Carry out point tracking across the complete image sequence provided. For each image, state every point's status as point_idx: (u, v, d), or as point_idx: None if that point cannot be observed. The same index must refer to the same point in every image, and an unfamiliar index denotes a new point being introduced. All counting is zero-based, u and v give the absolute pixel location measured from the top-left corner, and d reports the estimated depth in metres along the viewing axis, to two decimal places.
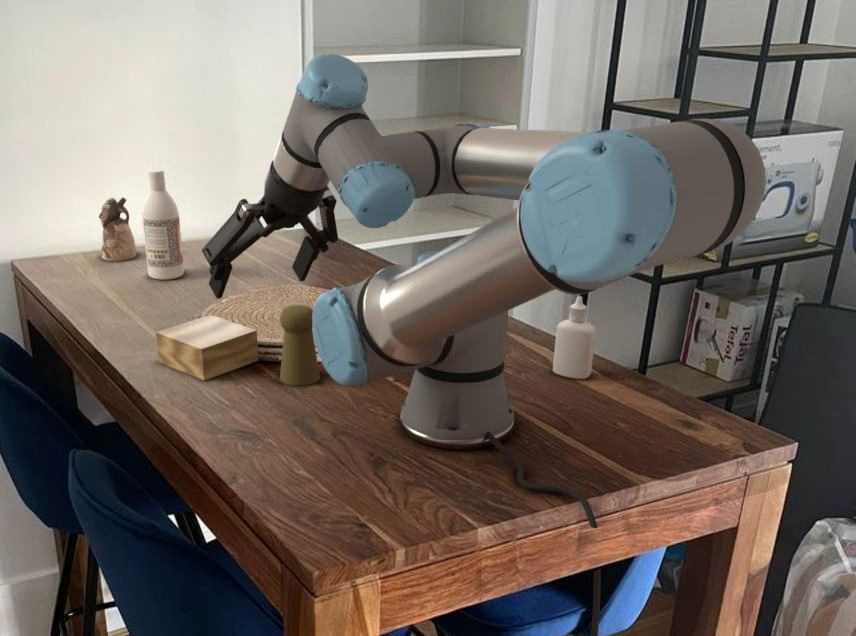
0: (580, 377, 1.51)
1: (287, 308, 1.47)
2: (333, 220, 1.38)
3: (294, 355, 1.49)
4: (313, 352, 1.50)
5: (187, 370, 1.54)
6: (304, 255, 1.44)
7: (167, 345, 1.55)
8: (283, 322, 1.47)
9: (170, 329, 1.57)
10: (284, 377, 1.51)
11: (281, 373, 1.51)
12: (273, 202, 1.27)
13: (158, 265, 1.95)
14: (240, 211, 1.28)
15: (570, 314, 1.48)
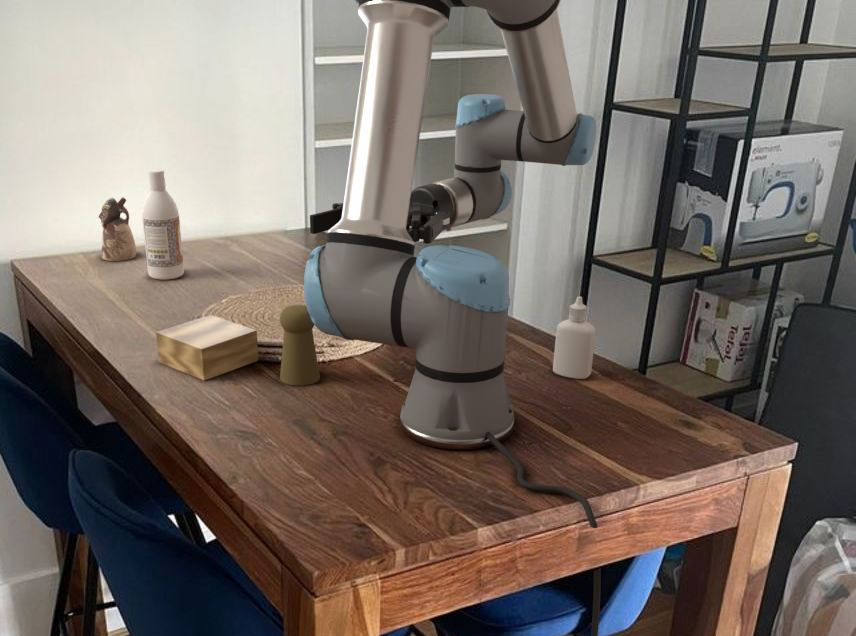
0: (580, 377, 1.51)
1: (287, 308, 1.47)
2: (437, 218, 1.51)
3: (294, 355, 1.49)
4: (313, 352, 1.50)
5: (187, 370, 1.54)
6: None
7: (167, 345, 1.55)
8: (283, 322, 1.47)
9: (170, 329, 1.57)
10: (284, 377, 1.51)
11: (281, 373, 1.51)
12: None
13: (158, 265, 1.95)
14: None
15: (570, 314, 1.48)
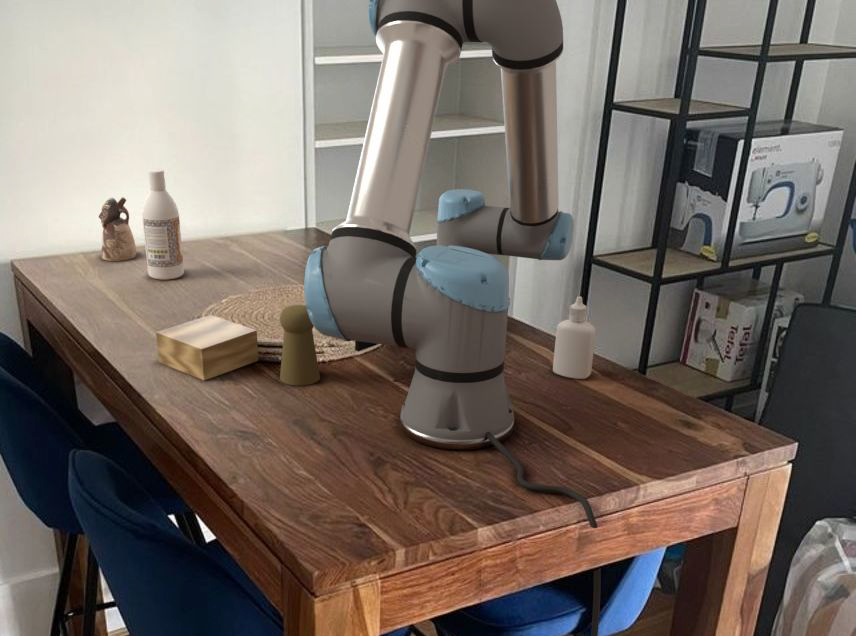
0: (580, 377, 1.51)
1: (287, 308, 1.47)
2: None
3: (294, 355, 1.49)
4: (313, 352, 1.50)
5: (187, 370, 1.54)
6: None
7: (167, 345, 1.55)
8: (283, 322, 1.47)
9: (170, 329, 1.57)
10: (284, 377, 1.51)
11: (281, 373, 1.51)
12: None
13: (158, 265, 1.95)
14: None
15: (570, 314, 1.48)
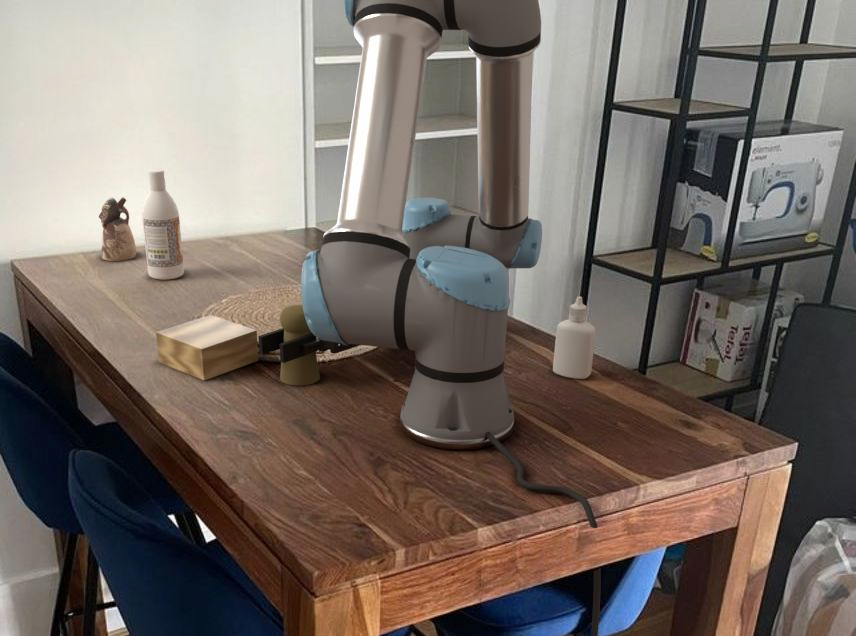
0: (580, 377, 1.51)
1: (287, 308, 1.47)
2: None
3: None
4: (313, 352, 1.50)
5: (187, 370, 1.54)
6: None
7: (167, 345, 1.55)
8: (283, 322, 1.47)
9: (170, 329, 1.57)
10: (284, 377, 1.51)
11: (281, 373, 1.51)
12: None
13: (158, 265, 1.95)
14: None
15: (570, 314, 1.48)
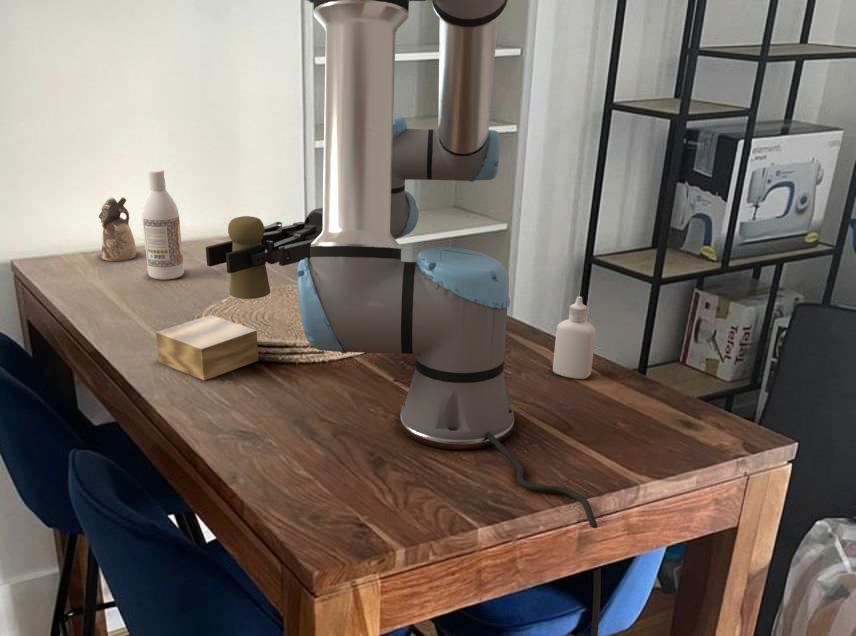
0: (580, 377, 1.51)
1: (235, 219, 1.45)
2: (309, 242, 1.48)
3: None
4: (262, 265, 1.47)
5: (187, 370, 1.54)
6: None
7: (167, 345, 1.55)
8: (230, 233, 1.44)
9: (170, 329, 1.57)
10: (233, 291, 1.48)
11: (230, 287, 1.49)
12: None
13: (158, 265, 1.95)
14: None
15: (570, 314, 1.48)
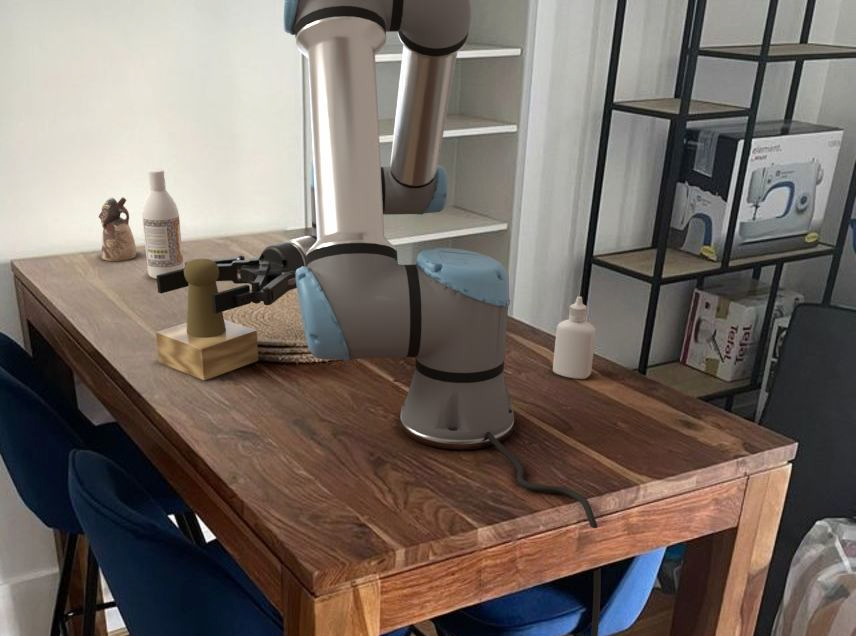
0: (580, 377, 1.51)
1: (190, 261, 1.51)
2: (280, 279, 1.53)
3: (198, 307, 1.52)
4: None
5: (187, 370, 1.54)
6: None
7: (167, 345, 1.55)
8: (186, 275, 1.51)
9: (170, 329, 1.57)
10: (190, 329, 1.54)
11: (187, 326, 1.55)
12: None
13: (158, 265, 1.95)
14: None
15: (570, 314, 1.48)
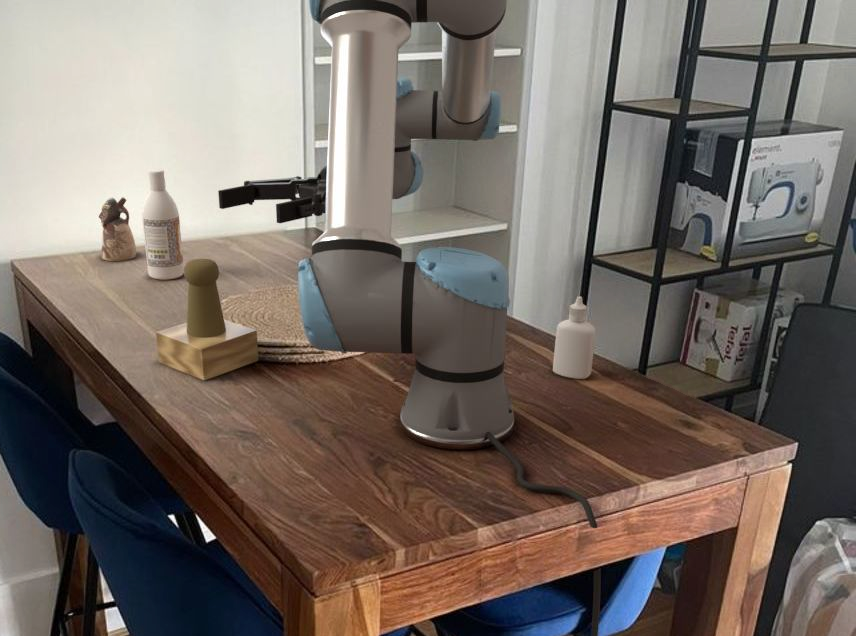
0: (580, 377, 1.51)
1: (190, 261, 1.51)
2: None
3: (198, 307, 1.52)
4: (217, 305, 1.53)
5: (187, 370, 1.54)
6: None
7: (167, 345, 1.55)
8: (186, 275, 1.51)
9: (170, 329, 1.57)
10: (190, 330, 1.54)
11: (187, 326, 1.55)
12: None
13: (158, 265, 1.95)
14: None
15: (570, 314, 1.48)
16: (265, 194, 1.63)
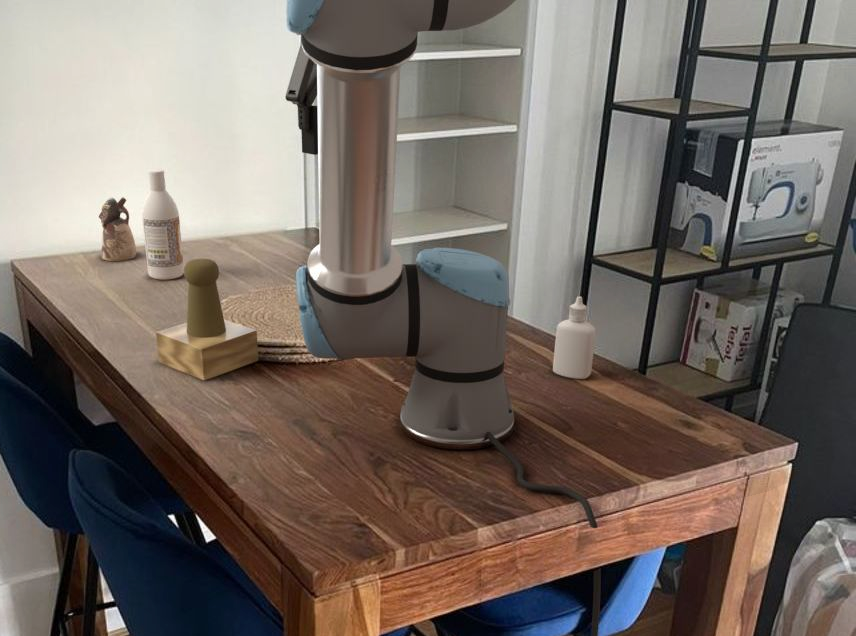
0: (580, 377, 1.51)
1: (190, 261, 1.51)
2: None
3: (198, 307, 1.52)
4: (217, 305, 1.53)
5: (187, 370, 1.54)
6: None
7: (167, 345, 1.55)
8: (186, 275, 1.51)
9: (170, 329, 1.57)
10: (190, 330, 1.54)
11: (187, 326, 1.55)
12: None
13: (158, 265, 1.95)
14: None
15: (570, 314, 1.48)
16: None
